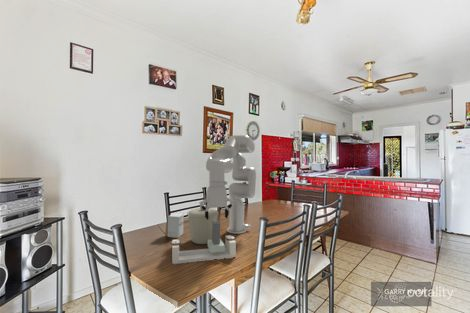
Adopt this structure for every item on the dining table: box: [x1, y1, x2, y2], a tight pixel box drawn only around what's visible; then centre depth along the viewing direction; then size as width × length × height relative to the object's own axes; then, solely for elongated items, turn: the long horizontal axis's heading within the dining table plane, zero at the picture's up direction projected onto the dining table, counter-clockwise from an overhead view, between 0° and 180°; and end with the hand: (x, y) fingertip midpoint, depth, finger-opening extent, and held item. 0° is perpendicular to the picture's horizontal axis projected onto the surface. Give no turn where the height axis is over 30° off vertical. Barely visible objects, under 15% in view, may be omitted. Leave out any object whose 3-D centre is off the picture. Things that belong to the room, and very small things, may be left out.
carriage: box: [207, 220, 225, 253], centre depth 116 cm, size 7×9×13 cm
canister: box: [186, 204, 219, 245], centre depth 134 cm, size 18×18×21 cm
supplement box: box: [167, 213, 185, 239], centre depth 142 cm, size 7×7×13 cm
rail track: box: [170, 235, 237, 265], centre depth 114 cm, size 32×10×8 cm, turn 105°
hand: (216, 218), depth 116 cm, fingers open, 9 cm apart
